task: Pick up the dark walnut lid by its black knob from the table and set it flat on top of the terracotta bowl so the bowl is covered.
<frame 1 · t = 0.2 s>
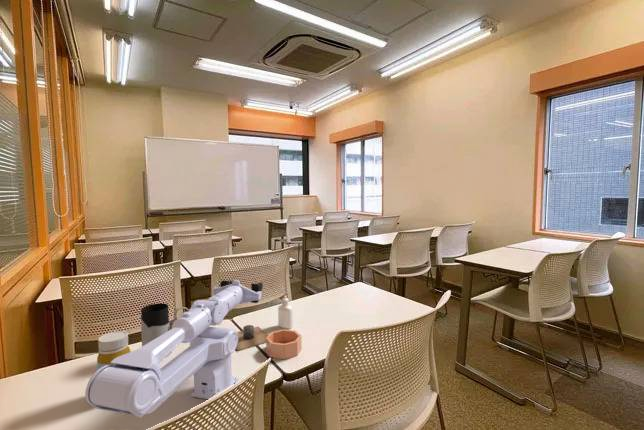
hand: (250, 284, 100), 22 cm above the table, tool horizontal, fingers open, 7 cm apart
glass holder: (166, 352, 101), on the table
lid: (248, 340, 110), on the table
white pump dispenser: (285, 327, 119), on the table
bottle: (116, 394, 80), on the table
bowl: (284, 350, 101), on the table
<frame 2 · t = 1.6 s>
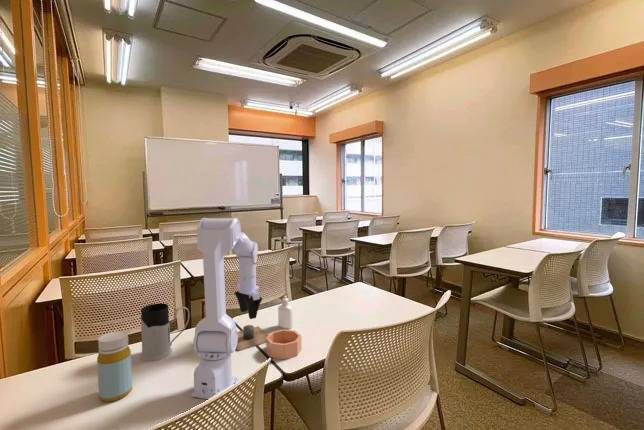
hand: (248, 314, 109), 8 cm above the table, tool pointing down, fingers open, 7 cm apart
nothing on the table moved.
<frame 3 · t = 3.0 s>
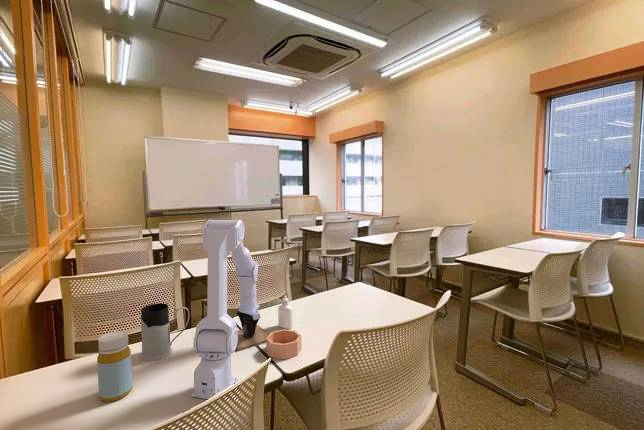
hand: (248, 333, 110), 2 cm above the table, tool pointing down, fingers closed on lid, 4 cm apart
lid: (248, 338, 110), on the table, touching gripper
everything else where it was.
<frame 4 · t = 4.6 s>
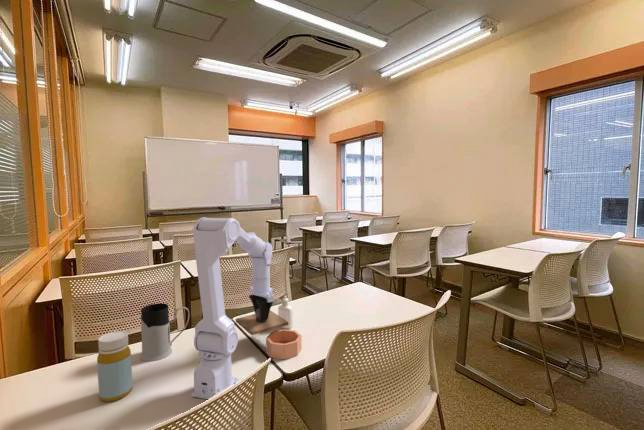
hand: (261, 317, 106), 9 cm above the table, tool pointing down, fingers closed on lid, 4 cm apart
lid: (261, 323, 106), point 7 cm above the table, touching gripper
everything else where it was.
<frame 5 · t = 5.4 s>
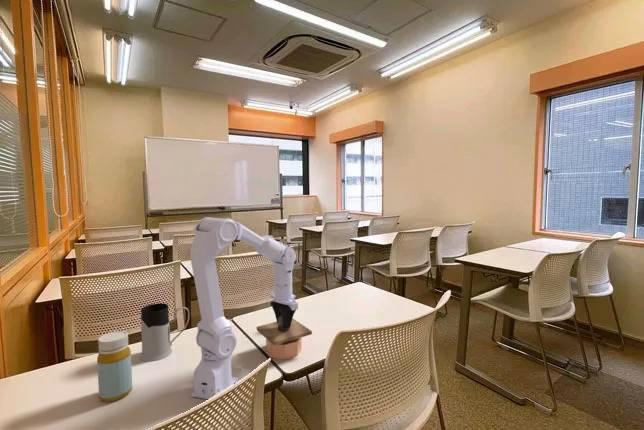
hand: (283, 325, 101), 8 cm above the table, tool pointing down, fingers closed on lid, 4 cm apart
lid: (283, 331, 101), point 6 cm above the table, touching gripper
everything else where it was.
when the fingers open (8 cm above the table, at t = 5.9 s): lid stays where it is, resting on bowl.
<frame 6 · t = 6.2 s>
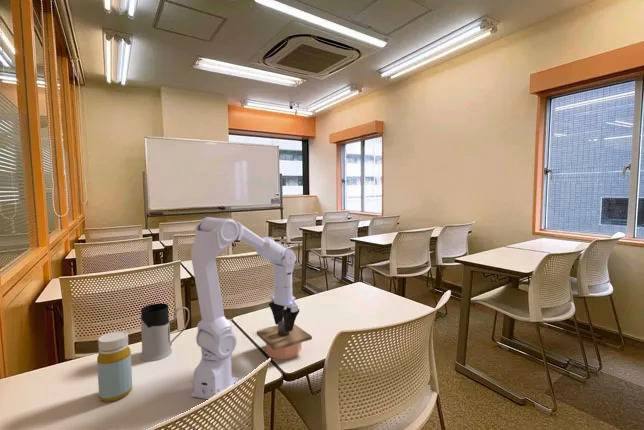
hand: (283, 327, 101), 8 cm above the table, tool pointing down, fingers open, 6 cm apart
lid: (283, 336, 101), point 4 cm above the table, touching bowl
everything else where it was.
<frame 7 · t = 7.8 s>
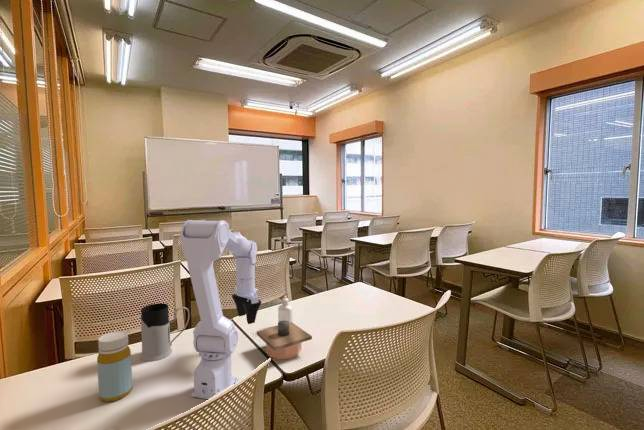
hand: (246, 319, 102), 10 cm above the table, tool pointing down, fingers open, 7 cm apart
nothing on the table moved.
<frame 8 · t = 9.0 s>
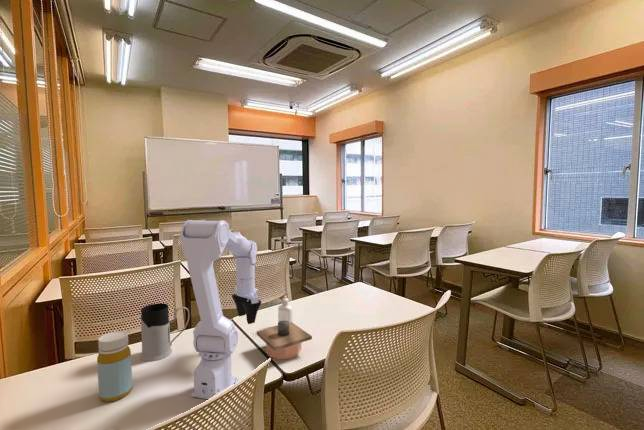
hand: (246, 319, 102), 10 cm above the table, tool pointing down, fingers open, 7 cm apart
nothing on the table moved.
at the end: lid 0.0 cm off-centre on the bowl, point 4.5 cm above the bowl's base; lid tilted 0°; the gripper is holding nothing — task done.
